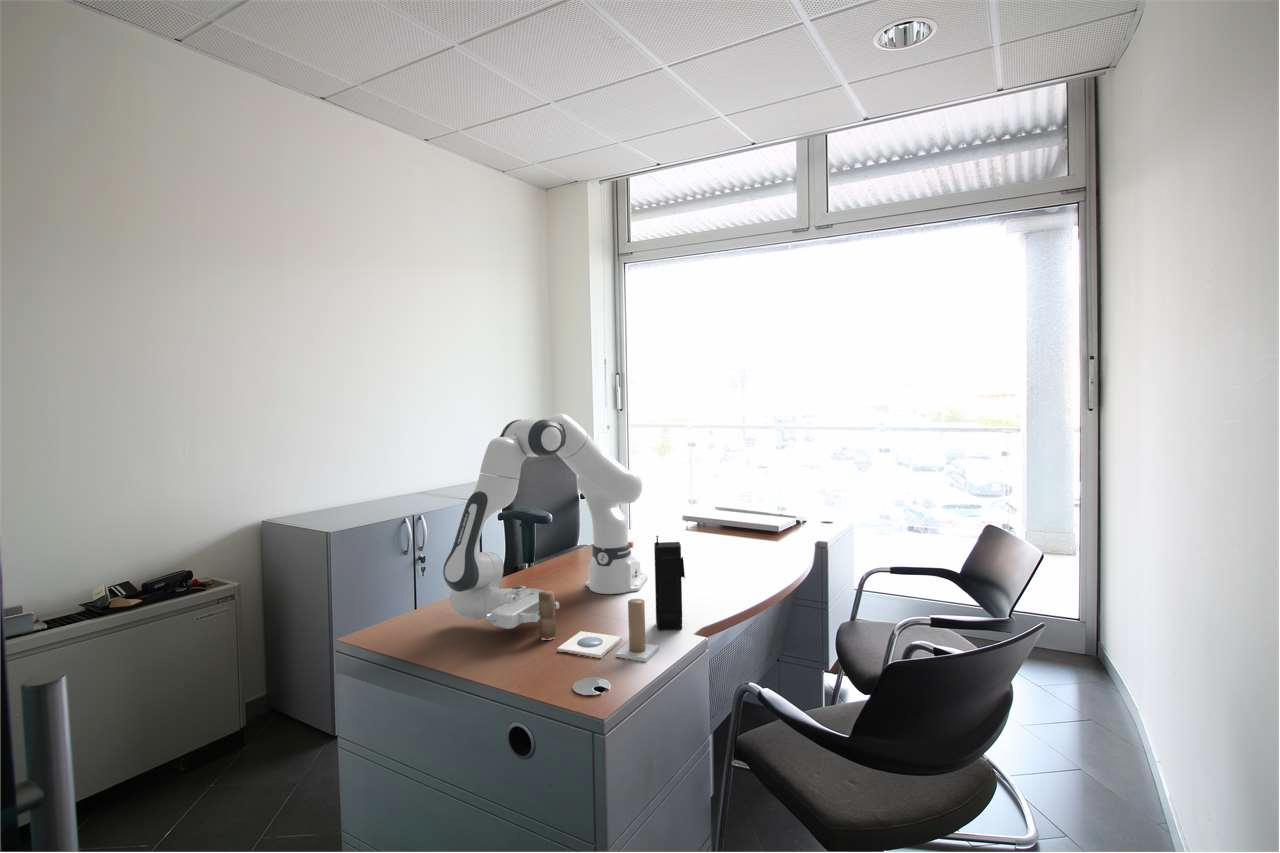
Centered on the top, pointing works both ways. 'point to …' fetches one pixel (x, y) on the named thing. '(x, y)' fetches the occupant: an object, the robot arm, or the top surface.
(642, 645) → the tan wooden dowel
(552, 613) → the walnut pin
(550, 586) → the top surface
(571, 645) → the plate
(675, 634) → the top surface
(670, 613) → the portable radio
